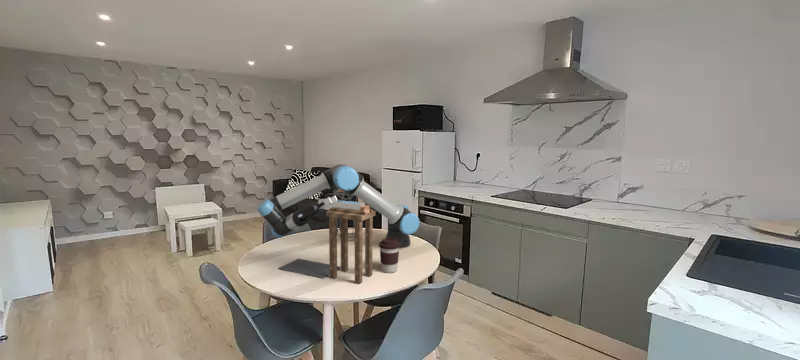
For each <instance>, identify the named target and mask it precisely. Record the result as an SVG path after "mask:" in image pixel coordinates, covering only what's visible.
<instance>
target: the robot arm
mask: <svg viewBox="0 0 800 360" xmlns="http://www.w3.org/2000/svg"><path fill="white" fill-rule="evenodd" d="M364 178H365V177H364V176H362V175H361V174H360V173H358V172H357V170H355V169H354V168H353V167H351V166H348V165H345V164H341V163H340V164H336V165H334V166H332V167H330V168H329V169H327V170H324V171H323V172H321V174H320V175H318V176H316V177H314V178H312V179H311V180H308V181H306V182H304V183H302V184H299V185H298V186H295V187H293V188H291V189H289V190H287V191H284V192H282V193H280V194H278V195H276V196H274V197H272V198H266V199H265V200H264V201H263V202H261V203H260V204H259V205H258V206H257V208H256V211H257V212H258V214H259V215H260V216H261V217H262V218H263V219H265V221H266V222H267V223H268V224H269V225H270V226H271V228H270V231H271V234H272V235H273V236H274V237H275V238H277V239H281V238H284V237H287V236H288V235H289V234H292V233H293V232H294V231H299V228H301V227H303V226H305V225H307V224H308V223H309V222H310V219H311V218H313V217H314V216H315V215H317V214H319V213H321V212H322V211H324V210H325V209H322V208H323V207H325V206H327V205H329V204H330V203H332V201H331V199H332V200H338V198H337V195H335V196H334V195H333V196H331V197H330V196H328V197H327V198H324V199H325V200H323V201H321V202H320V203H318V202H317V203H316V204H312V205H311V206H310V207H308V208H306V209H298V210H295V211H294V212H293V213H290V214H289V215H287V216H285V215H284V213H282V210H285V209H286V208H288V207H291V206H293V205H295V204H297V203H299V202H301V201H303V200H305V199H307V198H310V197H311V196H314V195H316V194H317V193H320V192H321V191H325V190H326V189H328V190H331V189H332V188H337V187H338V188H339V189H341V190H343V191H342V192H343V193H345V194H349V196H353V195H355V197H358V198H357V199H359V200H361V201H362V202H363V203H365V205H369V206H370V207H371V209H373V210H374V211H376V212H378V213H379V214H380V215H382V216H383V217H385V218H386V219H387V232H386V235H385V238H394V239H396V240H397V241H398V242H400V247H399V249H401V248H402V247H403V248H407V247H409V246H411V237H410V235H414V233H416V232H417V231H418V229H419V228H420V218H419V217H418V216H417V214H415V213H414V212H412V211H410V210H409V205H406V204H396V203H395V202H393V201H392V200H390V199H389V198H388V197H386V196H385V195H384V194H382V193H381V192H379V191H378V190H377V189H375V188H374V187H372V185H370V184H369V183H367V182H365V180H364ZM320 208H321V209H320Z"/></svg>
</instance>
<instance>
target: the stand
mask: <svg viewBox="0 0 800 360" xmlns="http://www.w3.org/2000/svg"><path fill="white" fill-rule="evenodd" d="M370 207H371V206H369V205H368V204H365V205H364V206H362V207H360V211H354V210H346V209H337V208H330V210H327V211H325V217H328V233H329V234H328V241H329V242H328V244H329V249H328V250H329V252H328V253H329V259H328V260H329V265H330V275H329V279H332V280H335V279H337V278H338V270H337V266H338V235H337V218H338V219H339V218H340V219H341V238H340V267H341V268H340V272H343V273H346V272H348V271H349V241H348V240H349V238H348V236H349V235H348V233H349V229H348V228H349V220H352V221H353V220H355V223H354V228H355V229H354V232H355V233H354V234H355V240H354V284H356V285H361V284H362V283H363V222H364V224H365V229H364V235H365V236H364V256H365V257H364V276H365V277H367V278H371V277H372V276H373V234H374V233H373V225H374V224H373V223H374V222H373V221H374V219H373V218H374V217H375V216H376V213H377V211H376V210H374V208H370Z"/></svg>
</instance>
